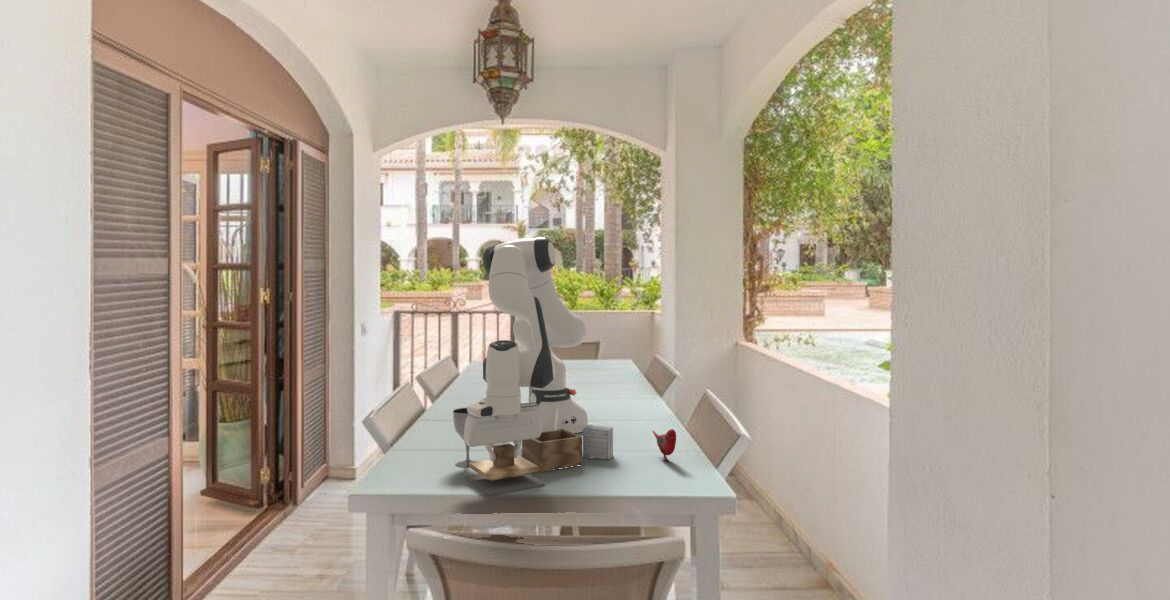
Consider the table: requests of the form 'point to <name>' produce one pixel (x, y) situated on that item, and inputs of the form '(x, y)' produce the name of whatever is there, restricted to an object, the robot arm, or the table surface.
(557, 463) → the storage box
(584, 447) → the medicine box
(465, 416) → the wine glass
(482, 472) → the lid
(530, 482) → the mat
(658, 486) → the table surface
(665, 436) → the decorative bird figurine
